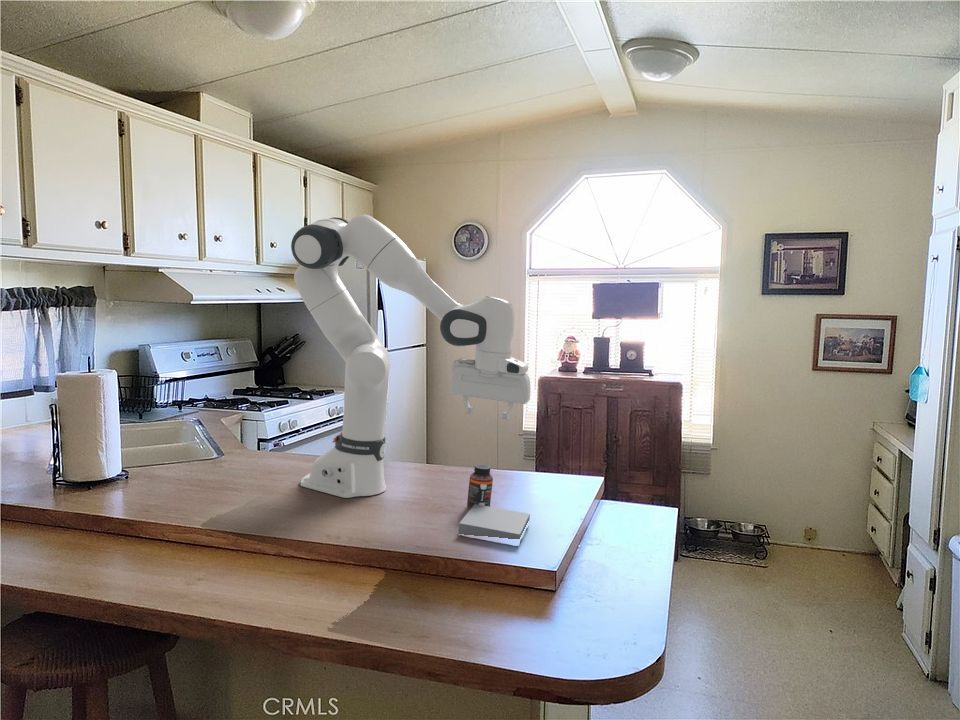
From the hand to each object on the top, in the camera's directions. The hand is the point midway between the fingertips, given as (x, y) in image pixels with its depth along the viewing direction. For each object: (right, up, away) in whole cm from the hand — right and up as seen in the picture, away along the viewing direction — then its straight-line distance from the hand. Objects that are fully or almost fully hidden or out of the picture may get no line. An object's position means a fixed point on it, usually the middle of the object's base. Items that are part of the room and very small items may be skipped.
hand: (487, 416), depth 161 cm
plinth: (+2, -26, -10) cm, 28 cm away
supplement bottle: (-2, -24, +3) cm, 25 cm away
